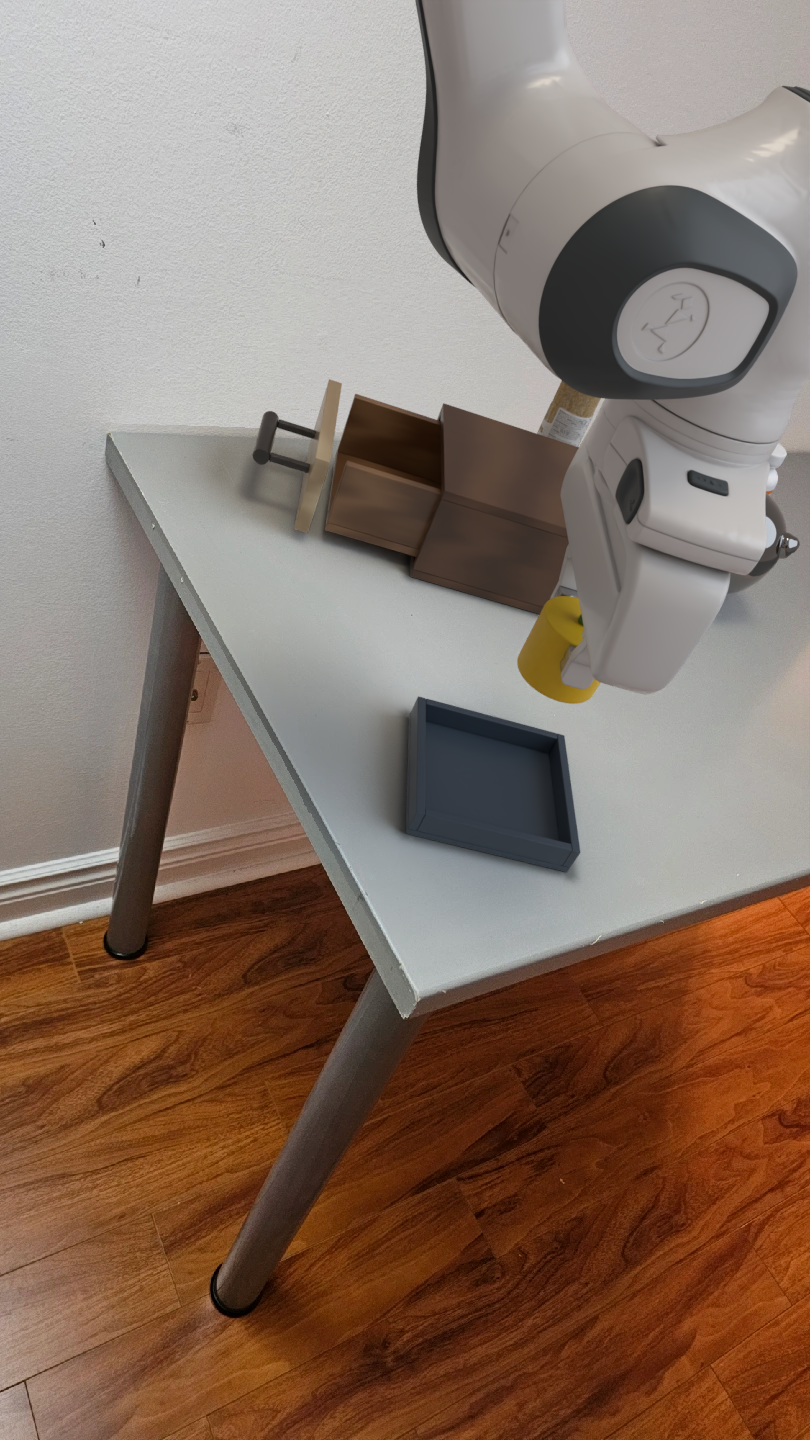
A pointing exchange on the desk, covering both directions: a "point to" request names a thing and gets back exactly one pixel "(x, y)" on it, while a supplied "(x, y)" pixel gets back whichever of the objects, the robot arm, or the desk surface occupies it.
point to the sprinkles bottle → (568, 415)
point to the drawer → (366, 470)
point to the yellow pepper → (554, 650)
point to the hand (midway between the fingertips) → (566, 645)
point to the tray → (490, 785)
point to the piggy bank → (767, 549)
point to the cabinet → (496, 512)
